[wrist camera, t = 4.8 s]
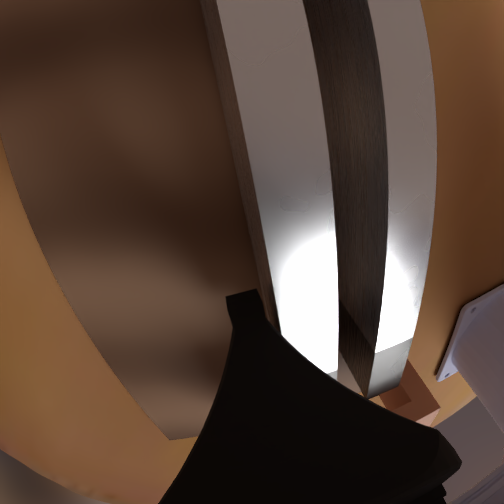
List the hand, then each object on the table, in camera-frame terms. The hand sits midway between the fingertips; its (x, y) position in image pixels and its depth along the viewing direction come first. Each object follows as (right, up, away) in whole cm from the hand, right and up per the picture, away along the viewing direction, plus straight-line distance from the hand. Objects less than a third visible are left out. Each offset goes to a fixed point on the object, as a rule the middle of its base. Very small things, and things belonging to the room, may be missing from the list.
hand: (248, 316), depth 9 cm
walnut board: (0, +4, +1) cm, 4 cm away
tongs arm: (+1, +3, 0) cm, 3 cm away
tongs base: (+2, +6, -1) cm, 6 cm away
